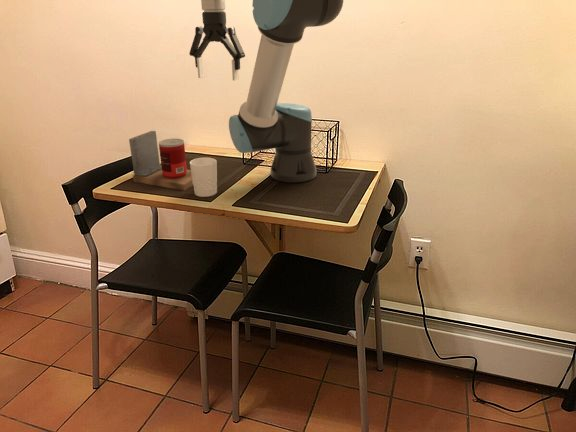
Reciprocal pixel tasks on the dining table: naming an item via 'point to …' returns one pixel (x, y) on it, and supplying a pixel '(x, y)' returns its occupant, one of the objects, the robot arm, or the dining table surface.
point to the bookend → (145, 154)
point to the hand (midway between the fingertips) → (218, 78)
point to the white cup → (204, 176)
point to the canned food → (173, 158)
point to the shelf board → (166, 180)
